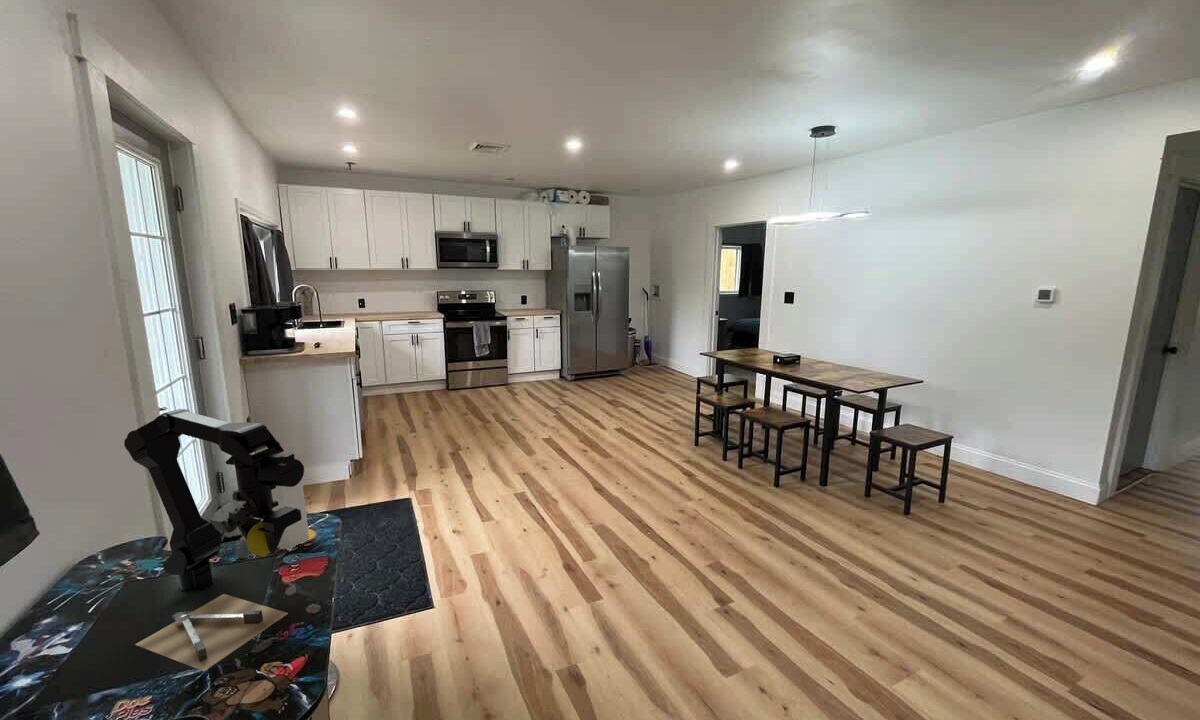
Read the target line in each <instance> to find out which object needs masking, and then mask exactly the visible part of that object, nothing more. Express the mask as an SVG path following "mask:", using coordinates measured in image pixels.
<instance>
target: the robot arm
mask: <svg viewBox="0 0 1200 720" xmlns="http://www.w3.org/2000/svg"><path fill="white" fill-rule="evenodd" d="M267 427H268V426H266V425H265V424H263V423H260V422H250V421H246V422H228V421H225V420H220V419H217V418H213V417H210V416H206V415H202V414H200V413H195V412H191V410H189V409H188V408H187V409H186V408H178V409H175V410H174V409H173V410H171V411H166V412H164V413H161V414H160V415H158V416H157V417H156V418H155V419H153V420H151V421H149V422H148V423H145V424H144V425H142V426H141V427H138V428H137V429H135V430H131V431H129V432H128V434H127V435H126V438H125V439H124V442H123V444H124V448H125V449H126V451H128V453H129V455H130V457H131V459H132V461H134V462H135V463H137V464H138V465H141V466H142V467H144V468H146V469H147V470H148V471H149V474H150V477H151V478H152V479H151V480H152V481H153V484H154V487H155V489H156V491H157V493H158V495H159V498H160V500H161V502H162V505H163V507H164V509H165V512H166V514H167V516H168V519H169V522H170V524H171V526H172V533H171V537H170V540H169V547H170V550H171V551H170V552H171V554H170V556H169V557H168V558H166V561H164V562H163V564H162V568H163V569H164V572H165V574H166V575H167V574H168V575H176V576H177V577H178V583H179V588H180V591H181V592H184V593H188V592H189V593H190V592H193V591H194V592H195V591H197V592H198V591H199V592H200V591H203V590H205V589H207V588H208V587H210V586H212V585H214V578H213V577H214V576H213V571H212V568H211V567H212V566H211V562H210V560H211V559H213V558H215V557H217V556H218V555H220V551H221V546H222V544H223V540H222V537H223V534H222V533H221V532H223V533H224V532H225V533H226V534H227V533H228V534H229V533H232V532H234V531H235V530H237V528H238V530H239V531H240V532H241V535H242V536H243V538H244V539H245V540H246V542H247V535H248V532H249V531H250V529H251V528H252V527H254V526H255V525H257V524H258V523H259V522H262V525H263V527H262V528H260V529H258V531H260V532H262V533H264V534H265V538H266V541H267V545H268V549H269V551H270V553H269V554H273V553H275V552H277V550H278V549H277V547H278V545H279V542H280V540H281V537H282V535H283V533H284V531H285V529H286V527H288V526H290V525H292V524H294V523H296V522H298V521H300V520H301V519H302V515H301V510H299V509H297V508H292V507H287V506H285V507H283V508H280V509H278V510H276V511H274V510H273V508H274V507H276V506H278V501H274V500H273V497H272V489H275V488H276V486H285V487H293V486H296V485H297V484H298V483H299V482H300V481H301V479H302V480H303V477H304V474H305V466H304V465H303V463H302V461H301V460H299V459H297V458H295V454H294V453H284V448H283V447H282V446H281V443H280V442H279V441H278V440H277V439H276V438H275V437H274V436H273V434H272V433H271V432H270V431H271V430H269V429H268V428H267ZM182 435H185V436H187V437H190V438H191V437H192V438H194V439H198V440H200V441H201V440H202V441H205V442H209V443H213V444H216V445H217V446H218V447H219V449H220V451H221V452H223V453H225V454H226V455H229V456H230V457H229V458H228V459H227V460H225V464H226V465H230V466H231V465H232V466H234V469H235V470H234V471H235V477H236V484H237V490H234V491H233V492H232V494H231V495H232V500H230V501H228V502H225V503H223V504H221V505H219V506H218V507H217V508H216V511H215V512H214V513H213V514H211V515H210V516H209V517H208V520H207V519H204V518H203V517H202V516H201V514H200V511H199V509H198V506H197V503H196V501H195V499H194V497H193V495H192V492H191V489H190V487H189V486H188V482H187V480H186V478H185V475H184V473H183V470H182V468H181V465H180V464H179V460H178V457H179V453H180V449H181V446H182V445H181V440H180V437H181V436H182ZM263 449H264V450H263Z"/></svg>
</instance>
